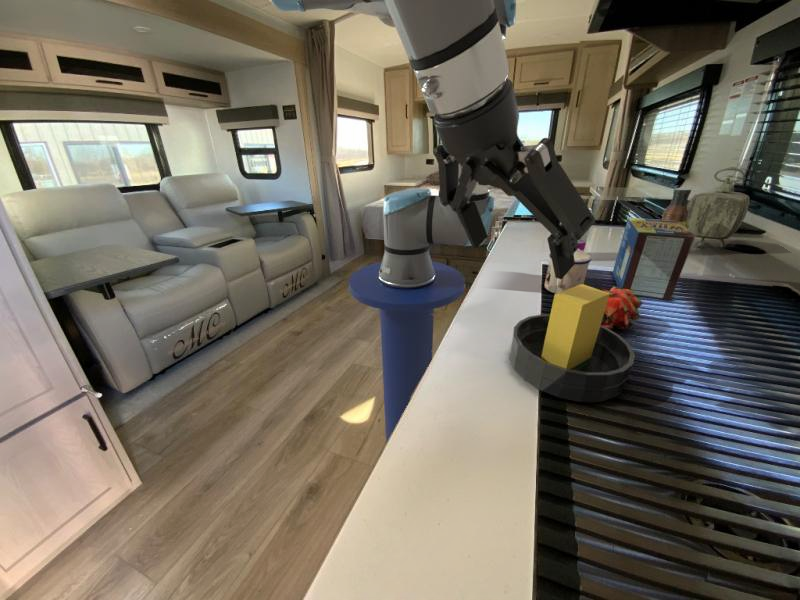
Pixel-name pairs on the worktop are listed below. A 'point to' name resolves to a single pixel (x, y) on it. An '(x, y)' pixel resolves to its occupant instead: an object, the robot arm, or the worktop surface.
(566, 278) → the teacup with lid
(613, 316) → the dragon fruit
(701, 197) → the tabletop clock
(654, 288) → the protein box
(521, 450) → the worktop surface
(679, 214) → the sauce bottle
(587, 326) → the sponge
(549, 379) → the bowl
